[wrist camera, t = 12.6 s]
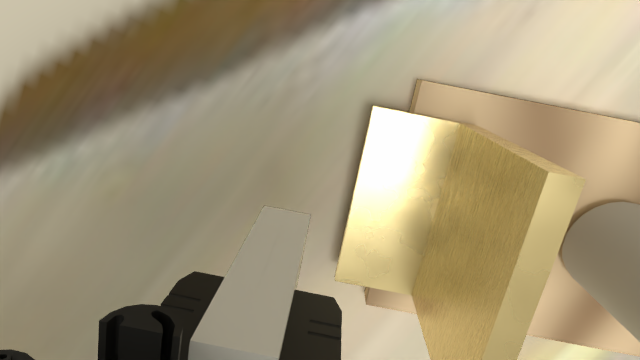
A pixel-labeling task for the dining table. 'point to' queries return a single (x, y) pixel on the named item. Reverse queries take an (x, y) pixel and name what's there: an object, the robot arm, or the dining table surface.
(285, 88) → the dining table surface
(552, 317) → the shelf
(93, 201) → the dining table surface
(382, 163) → the bookend
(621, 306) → the beverage can
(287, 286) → the robot arm
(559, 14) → the dining table surface
